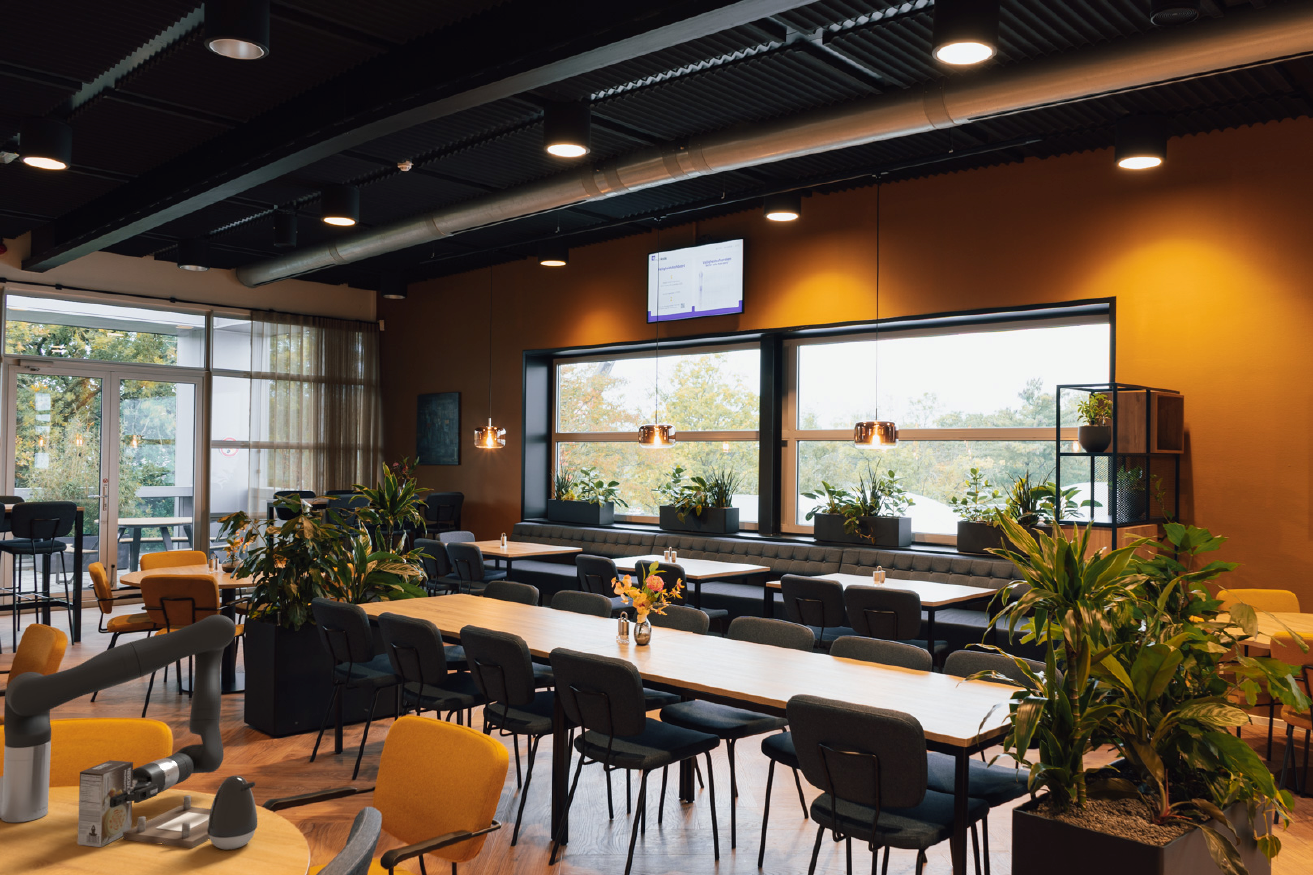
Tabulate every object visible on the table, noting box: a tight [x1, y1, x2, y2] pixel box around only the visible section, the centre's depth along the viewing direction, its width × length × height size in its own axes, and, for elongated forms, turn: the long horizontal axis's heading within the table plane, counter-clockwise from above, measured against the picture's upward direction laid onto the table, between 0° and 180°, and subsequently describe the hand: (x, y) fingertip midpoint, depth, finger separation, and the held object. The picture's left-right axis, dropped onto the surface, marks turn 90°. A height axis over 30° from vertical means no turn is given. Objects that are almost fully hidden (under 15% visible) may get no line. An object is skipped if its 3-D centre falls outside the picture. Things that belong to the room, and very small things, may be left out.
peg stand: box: [122, 794, 211, 849], centre depth 222 cm, size 18×18×4 cm
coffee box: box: [77, 759, 134, 848], centre depth 216 cm, size 9×6×16 cm
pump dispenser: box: [207, 775, 258, 851], centre depth 214 cm, size 10×10×15 cm
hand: (98, 801), depth 214 cm, fingers closed on coffee box, 6 cm apart
